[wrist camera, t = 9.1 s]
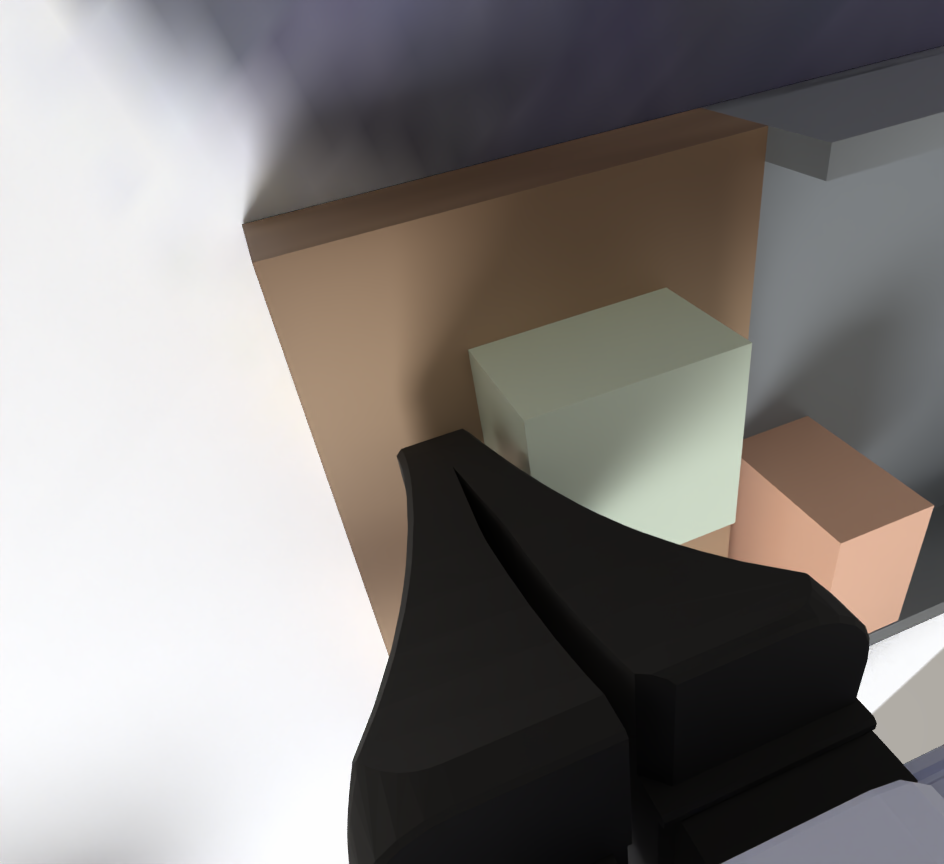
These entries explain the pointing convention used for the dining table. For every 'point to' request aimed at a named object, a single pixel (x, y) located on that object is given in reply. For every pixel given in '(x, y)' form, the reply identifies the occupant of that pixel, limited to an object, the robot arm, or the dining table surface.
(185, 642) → the dining table surface
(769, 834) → the robot arm
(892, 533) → the tile terracotta
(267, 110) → the dining table surface
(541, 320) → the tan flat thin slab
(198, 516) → the dining table surface
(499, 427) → the tile sage
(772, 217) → the tray
